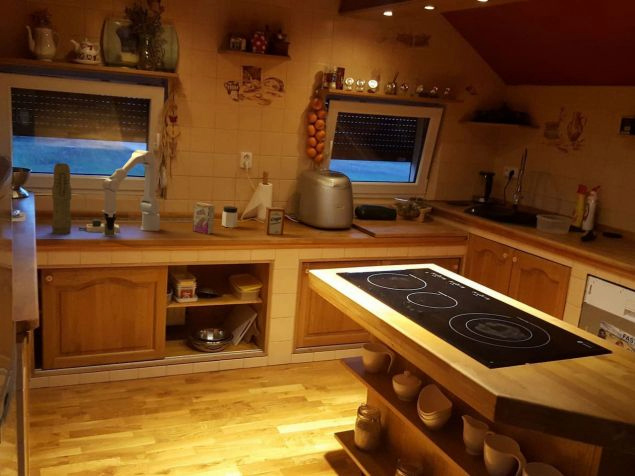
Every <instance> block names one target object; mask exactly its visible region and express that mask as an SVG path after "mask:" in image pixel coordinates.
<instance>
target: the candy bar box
mask: <svg viewBox="0 0 635 476" xmlns="http://www.w3.org/2000/svg"><path fill="white" fill-rule="evenodd" d="M214 220H215V205H214V204H211V203H206V202H205V203H204V202H202V201H201V202H200V201H199V202H194V205H193V220H192V221H193V223H192V232H195V231H197V232H196V233H199V232H201V233H200V234H203V233H205V234H204V235H207V234H209V235H211V234H210V233H213V234H214V223H215V222H214Z"/></svg>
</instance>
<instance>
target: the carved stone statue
mask: <svg viewBox="0 0 635 476" xmlns="http://www.w3.org/2000/svg"><path fill="white" fill-rule="evenodd" d="M51 189H52V190H51V191H52V193H51V194H52V196H51V199H52V200H53V201H52V202H53V203H52V204H53V205H52V207H53V208H52V211H53V212H52V220H51V228H52V234H54V235H69V234H71V230H72V221H71V201H72V186H71V168H70V165H69V164H68V163H61V162H60V163H59V162H58V163H55V165H54V167H53V186H52V187H51Z"/></svg>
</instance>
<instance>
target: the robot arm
mask: <svg viewBox="0 0 635 476" xmlns="http://www.w3.org/2000/svg"><path fill="white" fill-rule="evenodd" d="M138 164H142V166H144V168H145V169H144V190H143V191H144V193H143V194H144V196H142V198H141V199H140V203H139V206H138V207H139V210H140V211H141V214H142V215H141V218H142V219H141V226H140V230H141V231H149V232H150V231H154V232H155V231H156V232H159V231H160V227H161V225H160V224H161V222H160V221H161V219H160V218H161V217H160V216H161V215H160V214H159V213H158V212H159V211H160V204H159V199H158V198H157V196H155V195H156V174H157V173H156V172H157V163H156V154H154V153H153V152H152V151H151V150H144V149H135V150H134V152H132V154H131V157H130V158H129V159H128V160H127V162H126V163H125V164H124V165H123V167H121V168H116V169H115V172H113V174H112V175H110V176H109V178H106V179H104V181H103V182H102V184H101V185H102V188H103V192H104V206H103V207H104V209H102V210H101V212H102V213H103V215H104V219H105V222H107V228H108V230H112V229H113V225H114V224H115V221H116V219H117V216H116V213H117V192H118V190H119V188H120V185H121V183H122V182H123V181H124V180H125V179H126V178H127V177H128V173H129V172H130V171H131V170H132V169H133V168H135V166H136V165H138Z"/></svg>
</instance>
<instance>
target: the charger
mask: <svg viewBox="0 0 635 476" xmlns="http://www.w3.org/2000/svg"><path fill="white" fill-rule="evenodd" d="M104 224H105V235H114V233H115V232H114V225H113V229H112V230H108V228H107V222H106V221H104Z"/></svg>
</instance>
